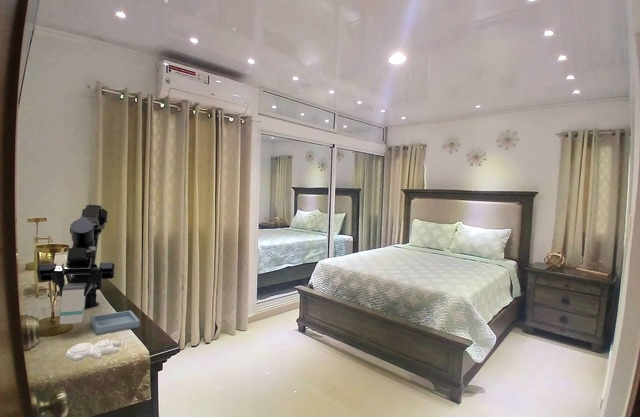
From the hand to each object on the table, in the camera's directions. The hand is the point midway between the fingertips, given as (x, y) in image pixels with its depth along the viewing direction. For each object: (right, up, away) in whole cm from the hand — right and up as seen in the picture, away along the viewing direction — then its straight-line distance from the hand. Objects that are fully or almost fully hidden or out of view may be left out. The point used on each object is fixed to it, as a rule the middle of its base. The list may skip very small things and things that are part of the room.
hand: (73, 296), depth 92 cm
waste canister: (-1, -8, +1) cm, 8 cm away
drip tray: (+5, -13, +11) cm, 17 cm away
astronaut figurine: (+12, -14, -7) cm, 19 cm away
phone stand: (-34, -10, +37) cm, 51 cm away
